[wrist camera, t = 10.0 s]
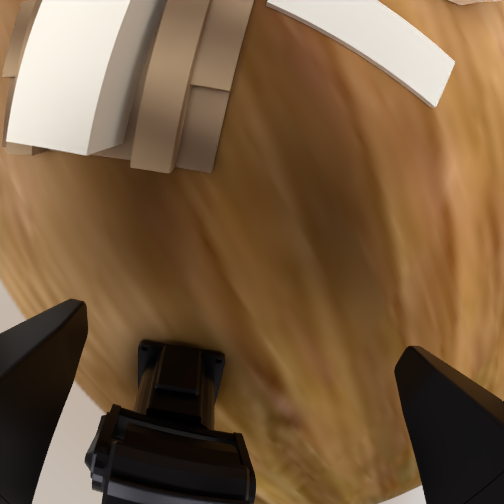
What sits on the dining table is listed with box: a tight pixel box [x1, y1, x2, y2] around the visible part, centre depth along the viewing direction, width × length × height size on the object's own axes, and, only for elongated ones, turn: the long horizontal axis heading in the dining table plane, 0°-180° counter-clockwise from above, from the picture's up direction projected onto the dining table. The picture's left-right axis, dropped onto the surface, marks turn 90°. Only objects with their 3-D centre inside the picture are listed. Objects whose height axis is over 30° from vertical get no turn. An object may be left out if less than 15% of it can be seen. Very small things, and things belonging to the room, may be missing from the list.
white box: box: [6, 0, 167, 156], centre depth 11 cm, size 12×4×5 cm, turn 163°
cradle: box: [2, 0, 254, 174], centre depth 12 cm, size 16×14×3 cm
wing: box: [266, 0, 455, 108], centre depth 15 cm, size 4×12×1 cm, turn 64°
